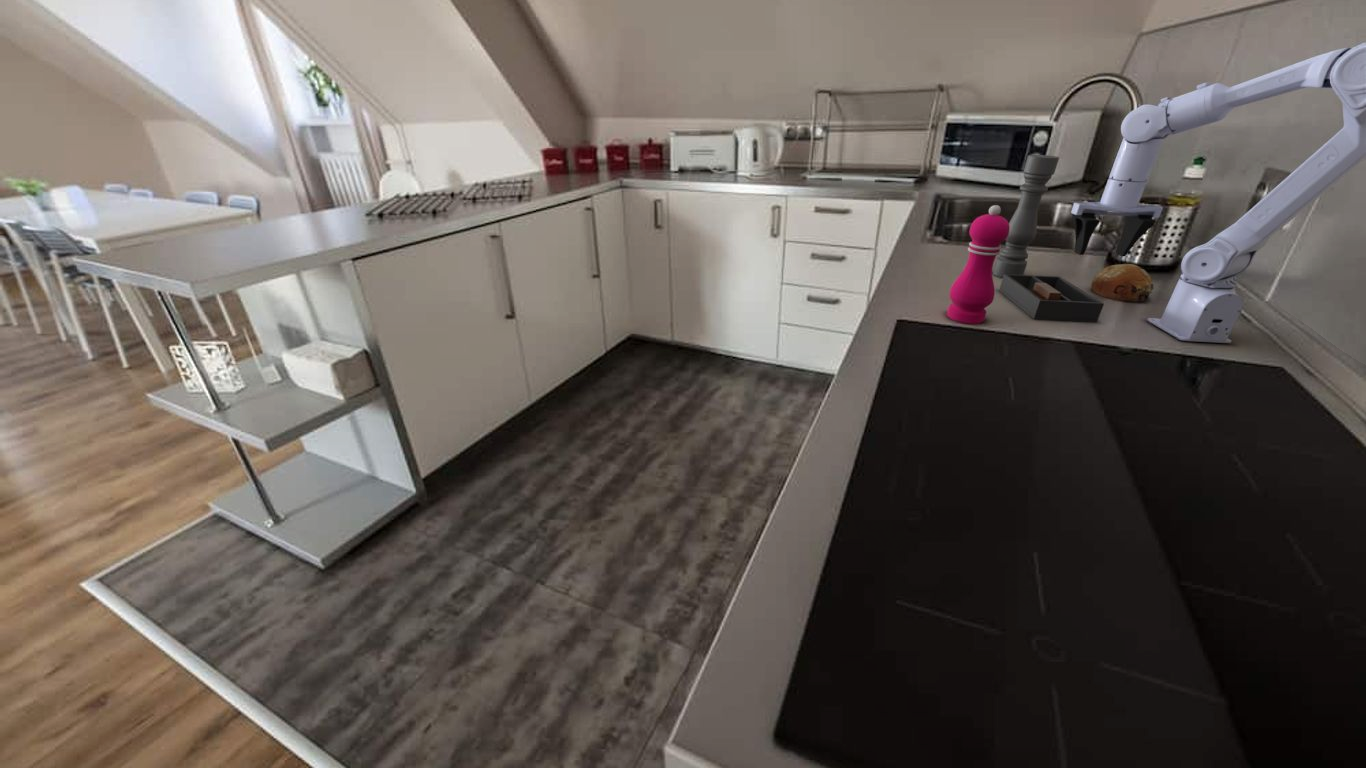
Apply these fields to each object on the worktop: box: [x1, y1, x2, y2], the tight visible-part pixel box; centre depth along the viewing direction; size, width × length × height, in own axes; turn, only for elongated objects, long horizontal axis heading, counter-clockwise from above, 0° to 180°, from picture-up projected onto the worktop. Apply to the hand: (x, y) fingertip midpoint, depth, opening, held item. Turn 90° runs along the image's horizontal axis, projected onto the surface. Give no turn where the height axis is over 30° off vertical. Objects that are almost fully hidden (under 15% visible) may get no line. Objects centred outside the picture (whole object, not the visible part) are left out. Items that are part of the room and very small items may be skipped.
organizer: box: [998, 274, 1105, 323], centre depth 108 cm, size 16×11×4 cm
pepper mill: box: [946, 204, 1010, 325], centre depth 97 cm, size 7×7×20 cm
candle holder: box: [992, 154, 1060, 279], centre depth 120 cm, size 6×6×25 cm
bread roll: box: [1090, 263, 1154, 303], centre depth 114 cm, size 10×10×8 cm
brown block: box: [1032, 283, 1061, 300], centre depth 107 cm, size 13×2×4 cm, turn 174°
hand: (1099, 254), depth 107 cm, fingers open, 7 cm apart
